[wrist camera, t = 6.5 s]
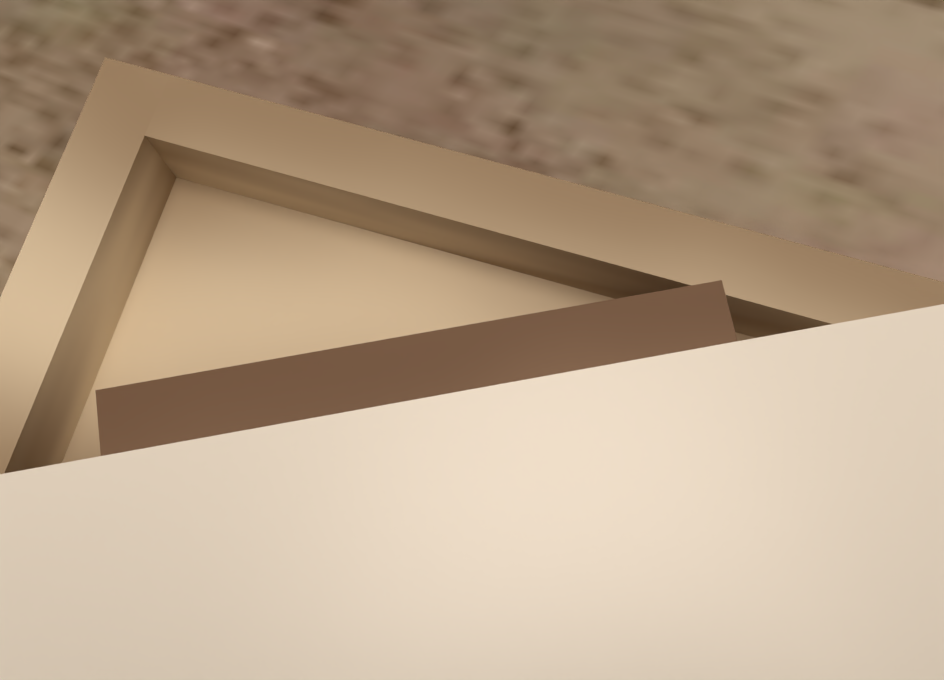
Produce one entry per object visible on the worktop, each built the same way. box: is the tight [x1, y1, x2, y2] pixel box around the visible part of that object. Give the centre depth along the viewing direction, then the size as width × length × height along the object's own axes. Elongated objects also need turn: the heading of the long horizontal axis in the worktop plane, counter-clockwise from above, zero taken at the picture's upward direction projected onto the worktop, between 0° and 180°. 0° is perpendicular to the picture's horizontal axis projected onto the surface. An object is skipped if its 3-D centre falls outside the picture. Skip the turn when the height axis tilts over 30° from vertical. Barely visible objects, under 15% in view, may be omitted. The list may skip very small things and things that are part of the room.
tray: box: [0, 57, 944, 474], centre depth 14 cm, size 16×18×3 cm
